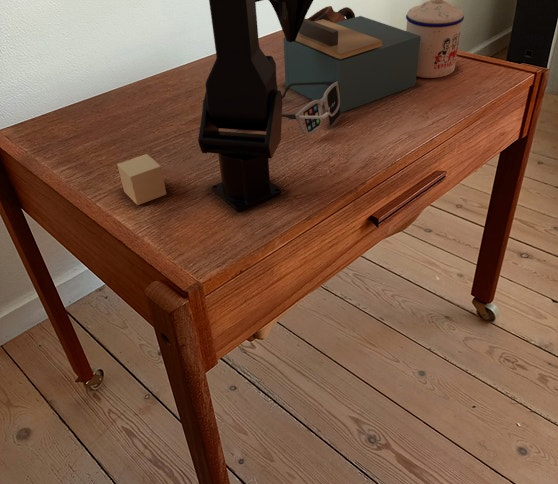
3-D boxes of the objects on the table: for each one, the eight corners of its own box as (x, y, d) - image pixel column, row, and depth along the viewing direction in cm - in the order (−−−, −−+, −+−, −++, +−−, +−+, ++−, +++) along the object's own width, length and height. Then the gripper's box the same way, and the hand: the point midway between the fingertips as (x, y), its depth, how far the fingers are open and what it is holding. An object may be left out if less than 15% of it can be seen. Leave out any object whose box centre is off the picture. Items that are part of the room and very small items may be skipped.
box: (415, 85, 95) (420, 35, 90) (338, 113, 88) (340, 61, 83) (358, 62, 104) (360, 15, 99) (285, 86, 97) (283, 37, 92)
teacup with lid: (440, 83, 95) (451, 6, 87) (391, 72, 99) (397, -2, 92) (472, 60, 102) (484, -13, 94) (424, 51, 106) (433, -20, 99)
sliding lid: (382, 46, 86) (383, 26, 84) (340, 59, 83) (340, 39, 81) (323, 24, 95) (323, 5, 93) (283, 35, 92) (282, 16, 90)
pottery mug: (339, 64, 104) (316, 22, 100) (306, 76, 112) (283, 37, 108) (376, 28, 109) (355, -14, 105) (342, 41, 116) (321, 3, 113)
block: (166, 194, 73) (161, 166, 70) (137, 205, 71) (130, 176, 69) (152, 181, 76) (146, 153, 73) (124, 192, 74) (117, 163, 71)
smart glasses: (328, 148, 79) (321, 113, 76) (244, 144, 87) (235, 112, 84) (367, 111, 86) (362, 78, 83) (286, 111, 94) (279, 80, 91)
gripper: (306, -101, 84) (308, 15, 94) (192, -81, 76) (207, 42, 86) (358, -93, 77) (353, 31, 87) (237, -70, 69) (248, 63, 79)
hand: (290, 41), depth 85 cm, fingers closed
